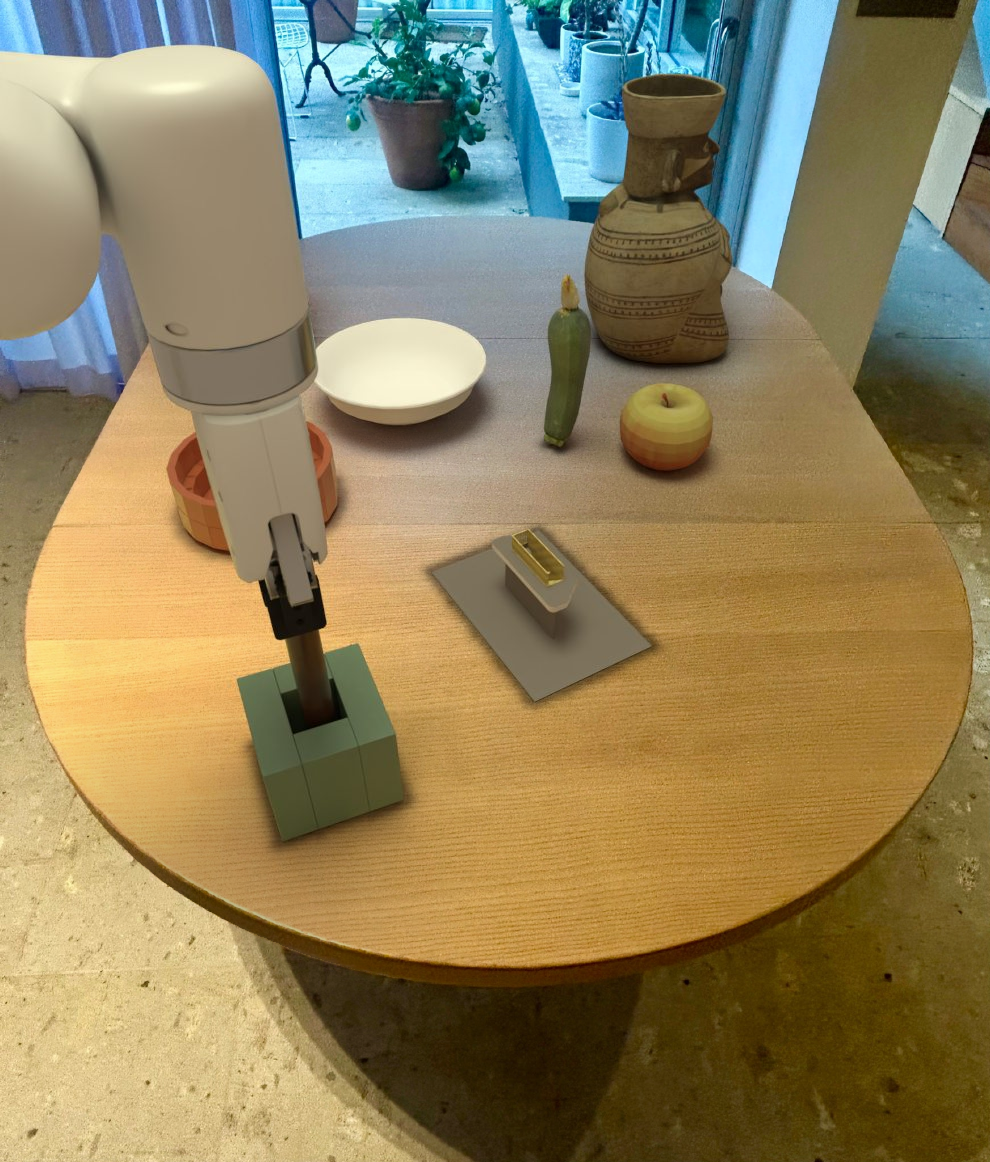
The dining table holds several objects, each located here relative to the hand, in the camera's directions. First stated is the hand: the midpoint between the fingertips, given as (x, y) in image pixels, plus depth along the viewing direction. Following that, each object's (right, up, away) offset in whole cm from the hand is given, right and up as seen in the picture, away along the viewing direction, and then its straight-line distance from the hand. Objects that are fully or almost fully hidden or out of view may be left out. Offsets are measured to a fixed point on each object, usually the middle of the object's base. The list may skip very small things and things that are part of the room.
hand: (295, 613), depth 55 cm
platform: (+16, -1, +25) cm, 29 cm away
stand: (0, -12, +12) cm, 17 cm away
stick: (0, -11, +10) cm, 15 cm away
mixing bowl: (-11, +10, +35) cm, 38 cm away
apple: (+30, +15, +42) cm, 54 cm away
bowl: (+2, +22, +49) cm, 53 cm away
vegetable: (+20, +17, +43) cm, 50 cm away
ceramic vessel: (+33, +33, +60) cm, 76 cm away
